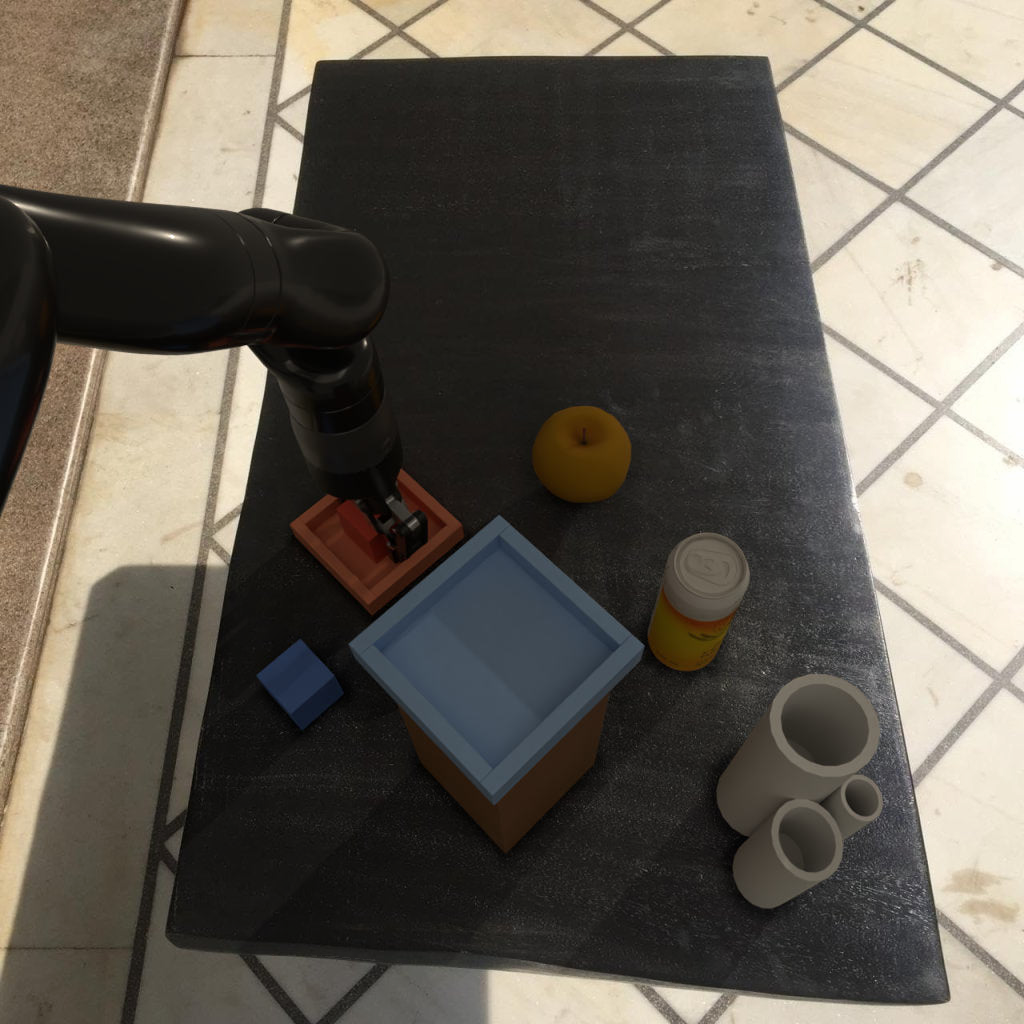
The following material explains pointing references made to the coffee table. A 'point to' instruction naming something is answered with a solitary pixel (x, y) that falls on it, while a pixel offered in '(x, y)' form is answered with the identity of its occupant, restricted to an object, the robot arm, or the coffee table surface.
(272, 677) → the blue block
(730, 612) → the beer can
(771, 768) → the vase
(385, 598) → the red tray
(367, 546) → the red block
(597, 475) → the apple
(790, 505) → the coffee table surface
